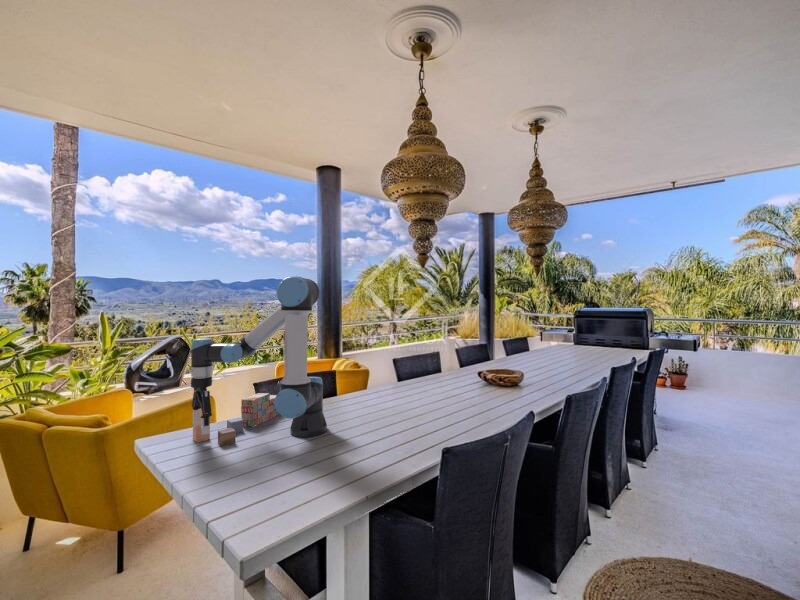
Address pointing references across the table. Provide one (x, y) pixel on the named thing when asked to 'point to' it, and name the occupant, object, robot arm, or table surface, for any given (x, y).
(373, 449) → the table surface
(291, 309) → the robot arm
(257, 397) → the stack of blocks
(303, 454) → the table surface
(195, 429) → the terracotta cube
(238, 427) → the slate rectangular block
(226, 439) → the walnut cube
